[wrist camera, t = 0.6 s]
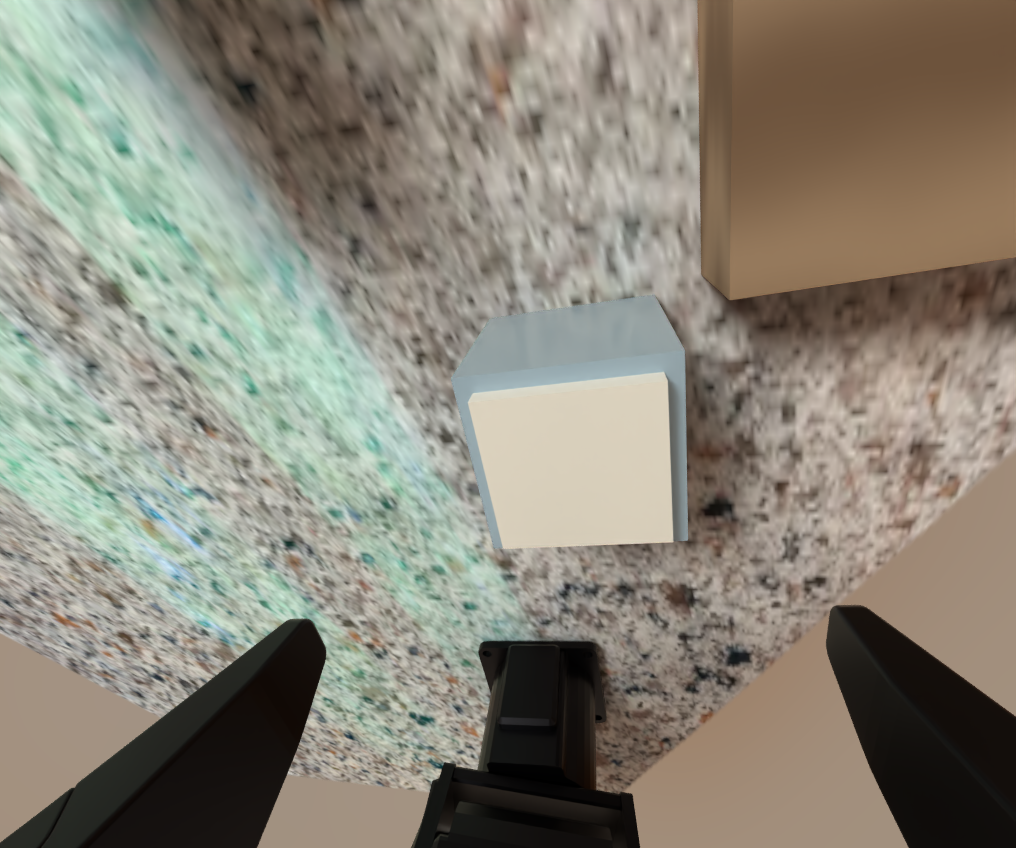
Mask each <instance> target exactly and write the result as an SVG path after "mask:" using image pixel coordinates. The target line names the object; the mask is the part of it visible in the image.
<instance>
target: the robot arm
mask: <svg viewBox="0 0 1016 848" xmlns="http://www.w3.org/2000/svg"><path fill="white" fill-rule="evenodd" d="M826 648H827V653H828V657H829V660H830V663H831V665H832V668H833V671H834V674H835V676H836V679H837V681H838V684H839V687H840V690H841V692H842V695H843V697H844V700H845V703H846V706H847V708H848V711H849V714H850V716H851V719H852V721H853V724H854V727H855V730H856V732H857V735H858V738H859V740H860V743H861V746H862V749H863V751H864V753H865V756H866V759H867V761H868V764H869V766H870V768H871V771H872V773H873V775H874V777H875V779H876V782H877V783H878V786H879V788H880V790H881V792H882V794H883V796H884V798H885V800H886V802H887V804H888V806H889V808H890V811H891V813H892V815H893V816H894V819H895V821H896V823H897V825H898V827H899V829H900V831H901V833H902V835H903V837H904V839H905V841H906V843H907V845H908V847H909V848H1016V716H1014V715H1013V714H1012V713H1010V712H1009V711H1007V710H1006V709H1005V708H1003V707H1002V706H1000V705H999V704H998V703H996V702H995V701H994V700H992V699H991V698H990V697H988V696H987V695H986V694H984V693H983V692H981V691H980V690H979V689H977V688H976V687H975V686H973V685H972V684H970V683H969V682H968V681H967V680H965V679H964V678H962V677H961V676H960V675H958V674H957V673H955V672H954V671H953V670H951V669H950V668H949V667H947V666H946V665H945V664H943V663H942V662H941V661H939V660H938V659H936V658H935V657H934V656H932V655H931V654H929V653H928V652H927V651H926V650H924V649H923V648H921V647H920V646H919V645H917V644H916V643H915V642H913V641H912V640H910V639H909V638H908V637H906V636H905V635H904V634H902V633H901V632H899V631H898V630H897V629H896V628H894V627H893V626H891V625H890V624H889V623H887V622H886V621H885V620H883V619H882V618H881V617H879V616H878V615H876V614H875V613H874V612H872V611H871V610H870V609H868V608H866V607H864V606H861V605H837V606H834V607H832V609H831V611H830V616H829V624H828V632H827V639H826ZM479 657H480V660H481V663H482V666H483V670H484V673H485V676H486V679H487V682H488V686H489V689H490V692H491V698H490V703H489V709H488V715H487V720H486V726H485V731H484V737H483V742H482V748H481V753H480V759H479V764H478V770H474V769H468V768H462V767H456V764H452V763H446V762H445V763H444V765H443V768H442V771H441V775H440V778H439V779H436V780H434V781H432V785H431V789H430V793H429V798H428V801H427V805H426V809H425V813H424V816H423V819H422V823H421V825H420V828H419V830H418V833H417V835H416V838H415V840H414V842H413V845H412V847H411V848H640V844H639V837H638V830H637V823H636V816H635V809H634V802H633V795H632V794H631V793H625V792H620V794H616V793H610V792H604V791H598V790H596V736H595V723H602V722H605V721H606V707H605V700H604V693H603V686H602V679H601V672H600V665H599V658H598V651H597V647H596V645H595V644H593V643H591V642H502V641H487V642H483V643H481V644H480V647H479ZM325 660H326V647H325V645H324V643H323V641H322V639H321V637H320V635H319V633H318V631H317V629H316V627H315V625H314V623H313V622H312V621H311V620H310V619H290V620H288V621H286V622H284V623H283V624H282V625H281V626H279V627H278V628H277V629H275V630H274V631H273V632H272V633H270V634H269V635H268V636H266V637H265V638H264V639H263V640H261V641H260V642H259V643H257V644H256V645H255V646H254V647H252V648H251V649H250V650H248V651H247V652H246V653H245V654H243V655H242V656H241V657H239V658H238V659H237V660H236V661H234V662H233V663H232V664H230V665H229V666H228V667H227V668H225V669H224V670H223V671H221V672H220V673H219V674H218V675H216V676H215V677H214V678H212V679H211V680H210V681H209V682H207V683H206V684H205V685H203V686H202V687H201V688H200V689H198V690H197V691H196V692H194V693H193V694H192V695H191V696H189V697H188V698H187V699H185V700H184V701H183V702H181V703H180V704H179V705H178V706H176V707H175V708H174V709H172V710H171V711H170V712H169V713H167V714H166V715H165V716H163V717H162V718H161V719H160V720H158V721H157V722H156V723H155V724H153V725H152V726H151V727H149V728H148V729H147V730H145V731H144V732H143V733H142V734H140V735H139V736H138V737H136V738H135V739H134V740H133V741H131V742H130V743H129V744H127V745H126V746H125V747H124V748H123V749H121V750H120V751H118V752H117V753H116V754H115V755H113V756H112V757H111V758H110V759H108V760H107V761H106V762H104V763H103V764H102V765H100V766H99V767H98V768H97V769H95V770H94V771H93V772H91V773H90V774H89V775H88V776H86V777H85V778H84V779H82V780H81V781H80V782H79V783H78V784H77V785H76V787H75V788H71V789H69V790H68V791H67V792H65V793H64V794H63V795H62V796H60V797H59V798H58V799H57V800H55V801H54V802H53V803H51V804H50V805H49V806H48V807H46V808H45V809H44V810H42V811H41V812H40V813H38V814H37V815H36V816H35V817H33V818H32V819H31V820H29V821H28V822H27V823H26V824H24V825H23V826H21V827H20V828H19V829H18V830H16V831H15V832H14V833H12V834H11V835H10V836H8V837H7V838H6V839H4V840H3V841H2V842H0V848H257V846H258V844H259V841H260V839H261V836H262V834H263V832H264V829H265V827H266V824H267V822H268V820H269V817H270V815H271V812H272V810H273V807H274V805H275V802H276V800H277V798H278V795H279V793H280V790H281V788H282V785H283V783H284V780H285V778H286V776H287V773H288V771H289V768H290V766H291V763H292V761H293V758H294V756H295V753H296V751H297V748H298V745H299V742H300V739H301V737H302V734H303V731H304V728H305V724H306V721H307V718H308V715H309V712H310V708H311V705H312V702H313V699H314V696H315V692H316V689H317V686H318V683H319V680H320V676H321V673H322V670H323V667H324V664H325Z"/></svg>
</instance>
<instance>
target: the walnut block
mask: <svg viewBox="0 0 1016 848" xmlns="http://www.w3.org/2000/svg"><path fill="white" fill-rule="evenodd" d="M698 67H699V140H700V212H701V275H702V276H703V277H705V278H706V279H707V280H708V281H709V282H710V283H711V284H712V285H713V286H714V287H716V288H717V289H718V290H719V291H720V292H721V293H722V294H723V295H724V296H725V297H727V298H728V299H729V300H735V299H742V298H748V297H755V296H762V295H768V294H775V293H782V292H788V291H795V290H802V289H808V288H815V287H822V286H828V285H835V284H842V283H848V282H855V281H862V280H868V279H875V278H882V277H888V276H895V275H902V274H908V273H915V272H922V271H928V270H935V269H942V268H948V267H955V266H962V265H968V264H975V263H982V262H988V261H995V260H1002V259H1008V258H1015V257H1016V0H698Z"/></svg>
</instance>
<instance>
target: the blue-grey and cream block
mask: <svg viewBox="0 0 1016 848" xmlns="http://www.w3.org/2000/svg"><path fill="white" fill-rule="evenodd" d="M451 381H452V385H453V389H454V393H455V397H456V400H457V404H458V408H459V412H460V416H461V420H462V424H463V428H464V432H465V436H466V440H467V444H468V448H469V452H470V456H471V460H472V464H473V468H474V472H475V476H476V480H477V484H478V488H479V492H480V496H481V499H482V503H483V507H484V511H485V515H486V519H487V523H488V527H489V531H490V535H491V539H492V543H493V547H494V548H503V549H514V548H540V547H565V546H591V545H616V544H642V543H668V542H673V541H688V508H687V447H686V386H685V350H684V348H683V346H682V344H681V342H680V340H679V339H678V337H677V335H676V333H675V331H674V329H673V328H672V326H671V324H670V322H669V320H668V319H667V317H666V315H665V313H664V311H663V309H662V308H661V306H660V304H659V302H658V300H657V298H656V297H655V295H648V296H641V297H634V298H627V299H620V300H613V301H606V302H600V303H593V304H586V305H579V306H572V307H565V308H558V309H551V310H545V311H538V312H531V313H524V314H517V315H510V316H503V317H496V318H490V319H489V321H488V322H487V324H486V325H485V327H484V328H483V330H482V331H481V333H480V334H479V336H478V338H477V339H476V341H475V342H474V344H473V345H472V347H471V348H470V350H469V351H468V353H467V354H466V356H465V358H464V359H463V361H462V362H461V364H460V365H459V367H458V368H457V370H456V371H455V373H454V374H453V376H452V378H451Z"/></svg>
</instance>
